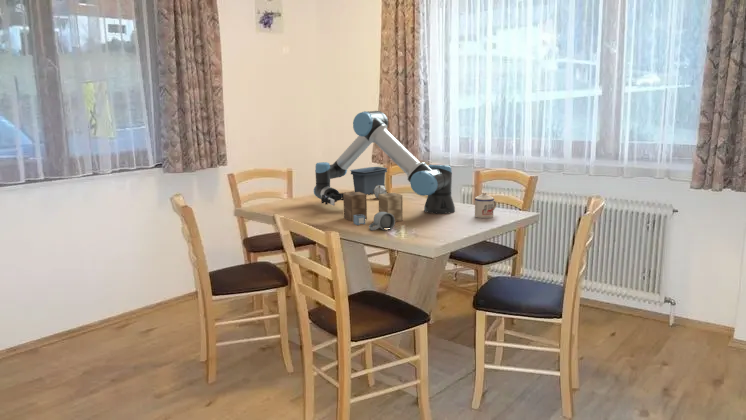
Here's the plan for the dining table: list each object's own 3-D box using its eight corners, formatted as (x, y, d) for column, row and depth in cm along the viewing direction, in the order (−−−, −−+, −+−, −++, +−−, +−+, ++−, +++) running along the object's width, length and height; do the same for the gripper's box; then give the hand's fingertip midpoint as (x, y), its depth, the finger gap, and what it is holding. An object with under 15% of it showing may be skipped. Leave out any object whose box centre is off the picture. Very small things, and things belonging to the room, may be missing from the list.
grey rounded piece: (381, 205, 338) (379, 193, 331) (369, 199, 342) (368, 186, 335) (391, 196, 342) (390, 184, 335) (380, 189, 346) (378, 177, 339)
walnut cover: (359, 216, 293) (359, 191, 290) (366, 219, 285) (366, 194, 283) (343, 218, 289) (343, 193, 287) (350, 221, 282) (350, 195, 279)
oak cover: (394, 217, 289) (393, 192, 286) (402, 220, 282) (402, 195, 279) (378, 219, 285) (378, 194, 283) (386, 222, 278) (386, 196, 276)
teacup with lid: (483, 219, 282) (483, 194, 280) (470, 216, 289) (470, 192, 287) (502, 216, 288) (503, 192, 286) (489, 213, 296) (489, 189, 293)
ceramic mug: (387, 225, 271) (386, 209, 270) (395, 229, 264) (395, 212, 262) (365, 228, 267) (365, 211, 265) (373, 232, 260) (373, 215, 258)
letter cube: (361, 222, 279) (361, 213, 278) (365, 224, 275) (365, 215, 275) (353, 223, 277) (353, 214, 276) (357, 225, 274) (357, 216, 273)
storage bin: (363, 196, 346) (362, 171, 344) (345, 193, 358) (345, 169, 355) (390, 192, 360) (389, 168, 358) (372, 189, 372) (372, 166, 369)
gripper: (352, 199, 319) (370, 206, 300) (307, 204, 308) (323, 211, 289) (352, 185, 317) (369, 191, 299) (307, 189, 307) (322, 196, 288)
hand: (346, 201), depth 294 cm, fingers open, 13 cm apart
